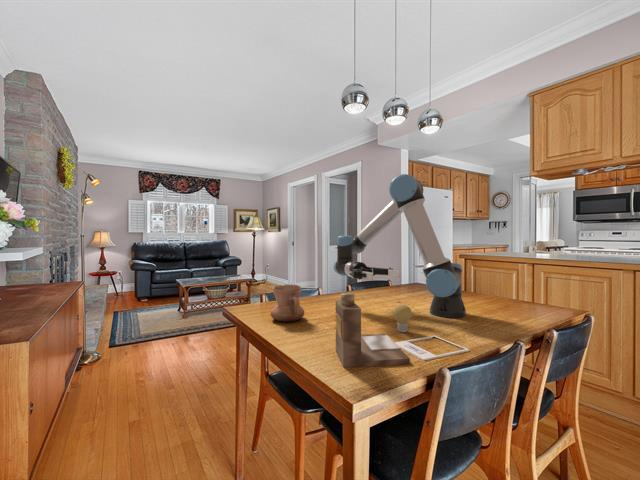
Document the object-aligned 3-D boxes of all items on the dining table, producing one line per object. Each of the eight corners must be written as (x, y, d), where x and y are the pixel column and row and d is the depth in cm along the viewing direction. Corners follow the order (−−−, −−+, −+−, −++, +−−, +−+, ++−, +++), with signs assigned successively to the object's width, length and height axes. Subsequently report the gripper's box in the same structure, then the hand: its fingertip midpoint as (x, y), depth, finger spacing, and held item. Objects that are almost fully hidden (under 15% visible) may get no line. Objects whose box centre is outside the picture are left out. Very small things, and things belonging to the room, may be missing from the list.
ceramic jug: (264, 317, 138) (264, 285, 137) (294, 312, 145) (294, 282, 144) (280, 328, 122) (279, 292, 122) (312, 322, 129) (312, 288, 129)
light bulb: (415, 332, 116) (415, 305, 116) (403, 335, 112) (403, 307, 112) (401, 327, 121) (401, 302, 121) (390, 330, 118) (390, 304, 117)
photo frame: (392, 342, 103) (434, 334, 111) (392, 345, 103) (434, 338, 111) (423, 358, 90) (469, 348, 97) (423, 362, 90) (469, 352, 97)
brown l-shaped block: (384, 337, 110) (384, 283, 109) (409, 363, 88) (410, 296, 88) (330, 340, 107) (329, 285, 107) (342, 367, 86) (342, 298, 85)
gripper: (378, 276, 150) (409, 282, 131) (332, 279, 138) (360, 287, 119) (378, 260, 149) (409, 264, 131) (332, 262, 138) (360, 267, 119)
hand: (386, 275), depth 125 cm, fingers open, 13 cm apart
